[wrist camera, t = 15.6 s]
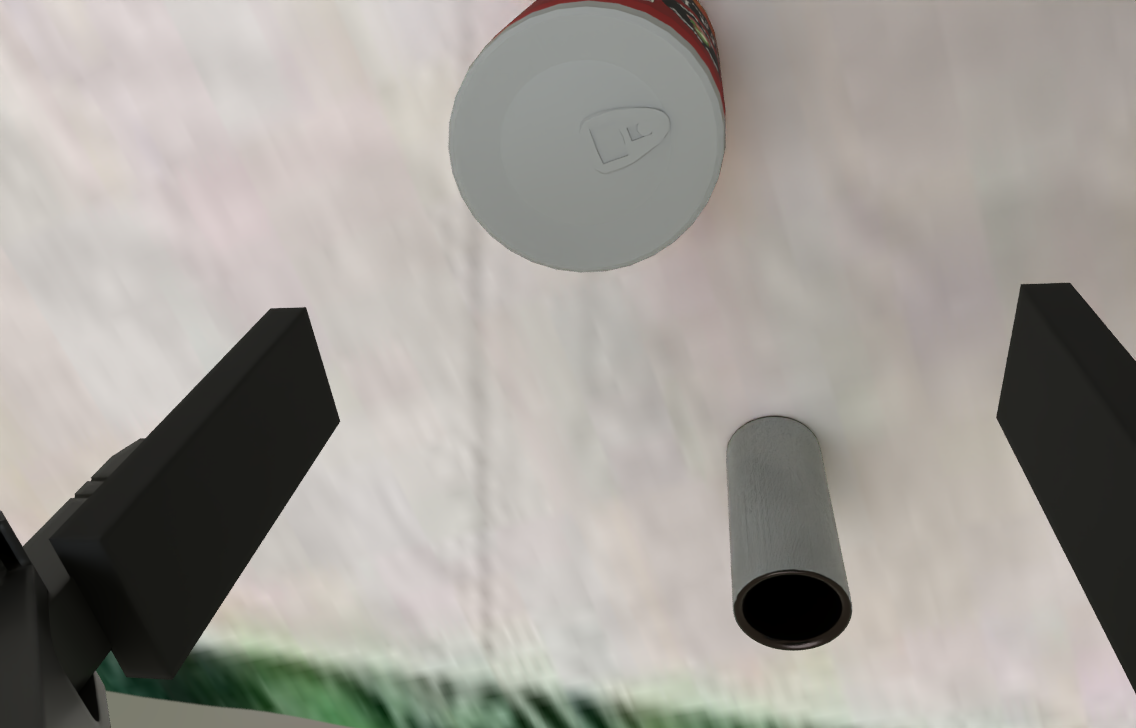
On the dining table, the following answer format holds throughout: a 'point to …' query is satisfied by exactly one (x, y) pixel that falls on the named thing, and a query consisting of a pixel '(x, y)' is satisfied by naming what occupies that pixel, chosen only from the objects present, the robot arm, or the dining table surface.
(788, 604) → the grey cylinder
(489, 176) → the canned food
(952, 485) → the dining table surface
